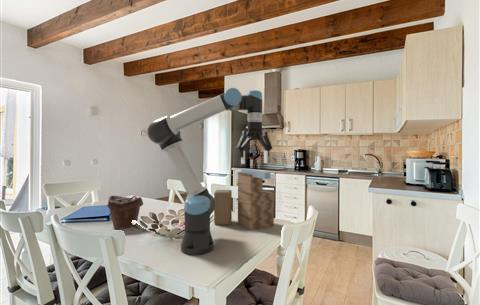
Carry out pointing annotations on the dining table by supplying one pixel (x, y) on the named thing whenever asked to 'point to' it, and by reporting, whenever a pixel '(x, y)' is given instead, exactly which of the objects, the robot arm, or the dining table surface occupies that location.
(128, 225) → the brown pot
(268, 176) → the slate rail
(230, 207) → the wooden block
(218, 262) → the dining table surface
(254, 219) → the walnut stand
